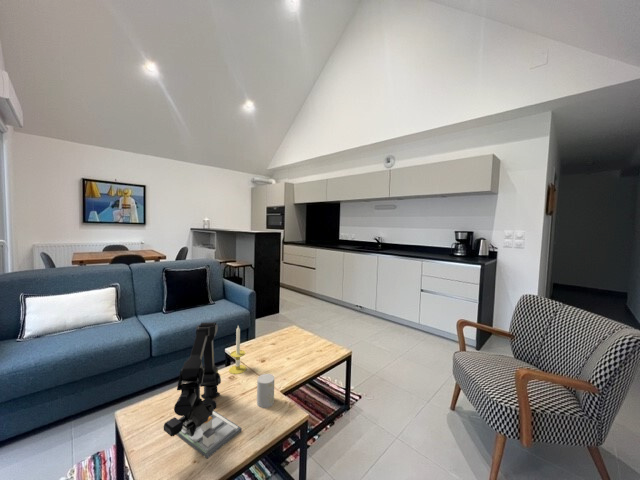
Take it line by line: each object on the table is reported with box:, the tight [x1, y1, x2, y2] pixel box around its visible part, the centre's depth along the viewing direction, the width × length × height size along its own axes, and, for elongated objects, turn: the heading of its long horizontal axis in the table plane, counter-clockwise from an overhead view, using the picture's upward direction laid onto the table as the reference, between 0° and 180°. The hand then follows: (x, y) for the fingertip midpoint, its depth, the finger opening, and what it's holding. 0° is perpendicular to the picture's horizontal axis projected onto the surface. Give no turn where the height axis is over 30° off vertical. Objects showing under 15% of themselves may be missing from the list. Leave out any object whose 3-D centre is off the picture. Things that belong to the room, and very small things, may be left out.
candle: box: [228, 325, 247, 375], centre depth 157 cm, size 10×10×27 cm
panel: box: [176, 409, 242, 459], centre depth 110 cm, size 21×16×2 cm
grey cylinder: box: [256, 373, 275, 409], centre depth 129 cm, size 8×8×12 cm
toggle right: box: [203, 428, 215, 447], centre depth 102 cm, size 3×3×4 cm
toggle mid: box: [201, 416, 212, 431], centre depth 109 cm, size 3×3×4 cm
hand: (191, 435), depth 104 cm, fingers closed
